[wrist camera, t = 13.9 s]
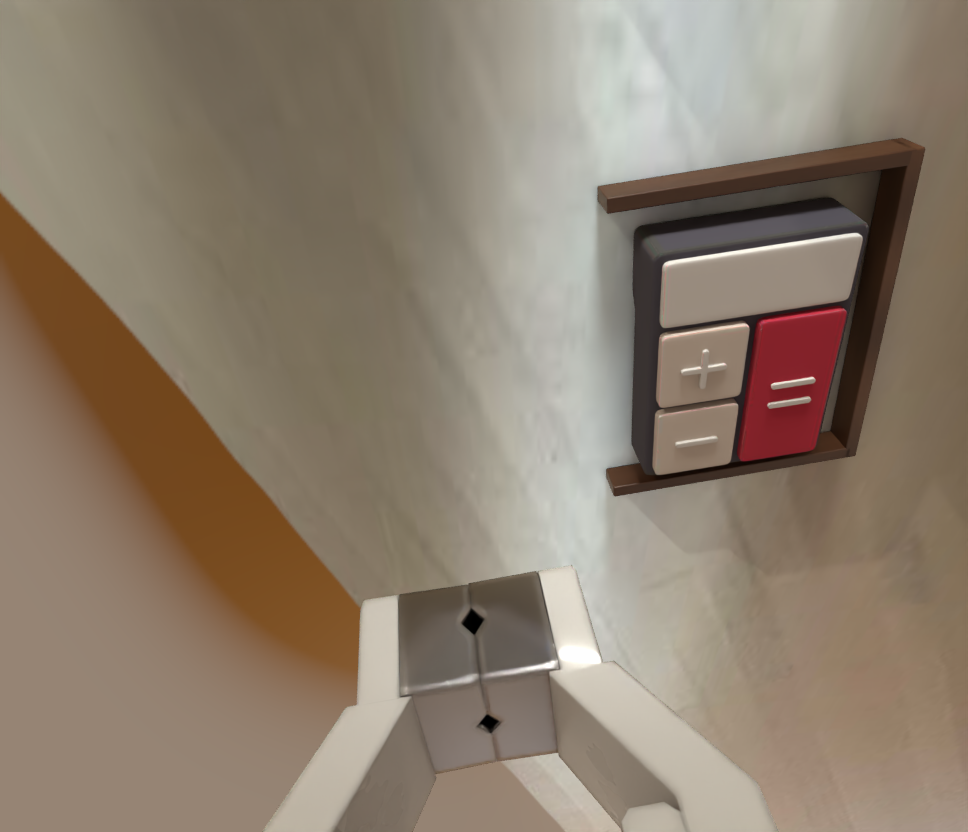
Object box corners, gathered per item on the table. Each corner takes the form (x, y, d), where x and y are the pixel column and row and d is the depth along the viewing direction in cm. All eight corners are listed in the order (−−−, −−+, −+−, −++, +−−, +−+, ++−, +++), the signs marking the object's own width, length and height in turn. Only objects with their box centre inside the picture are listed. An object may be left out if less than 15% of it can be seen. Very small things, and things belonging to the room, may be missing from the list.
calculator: (647, 486, 44) (658, 261, 34) (628, 441, 47) (633, 225, 38) (823, 457, 44) (881, 227, 35) (791, 415, 47) (836, 195, 38)
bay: (597, 185, 37) (606, 198, 35) (902, 137, 37) (926, 147, 35) (605, 477, 48) (613, 497, 46) (840, 438, 48) (855, 456, 47)
